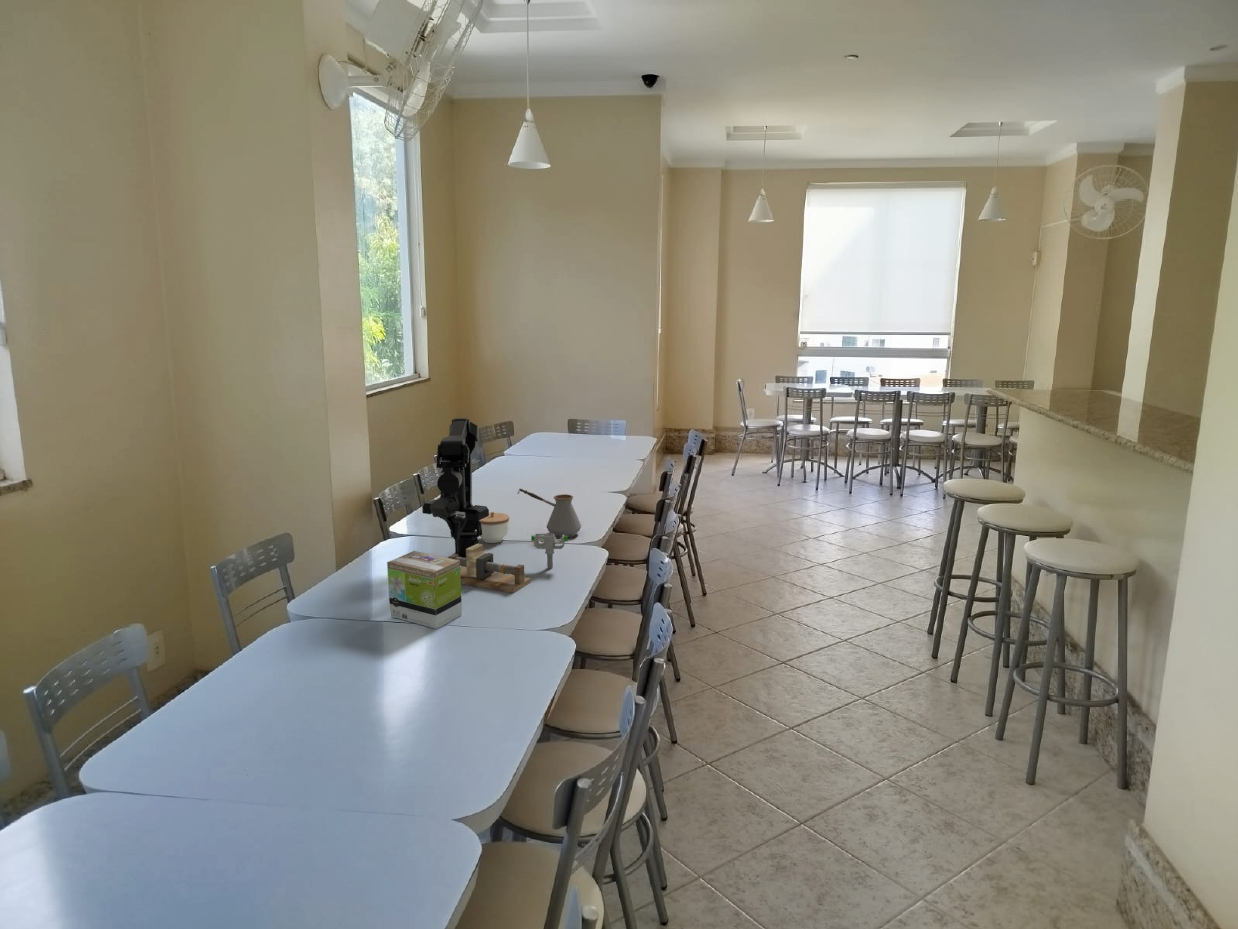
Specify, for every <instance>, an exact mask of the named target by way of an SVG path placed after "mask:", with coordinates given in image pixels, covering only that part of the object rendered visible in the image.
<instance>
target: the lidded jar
mask: <svg viewBox="0 0 1238 929" xmlns="http://www.w3.org/2000/svg"><path fill="white" fill-rule="evenodd" d="M480 522H481V526H482V535H481V536H479V538H481V539H482V541H483V542H485V543H489V544H495V543H501V542H503V540H504V539H505V537H507V535H508V533H509V529H510V528H509V527H510V515H508V514H506V513H504V512H503V513H502V512H495V511H490V512H489V516H488V517H485V518H483V519H481V520H480Z"/></svg>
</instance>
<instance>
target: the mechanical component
mask: <svg viewBox="0 0 1238 929" xmlns="http://www.w3.org/2000/svg"><path fill="white" fill-rule="evenodd" d="M540 540H543V541H540ZM531 542H534V547H535V548H536V549H537V550H538V549H539V550H545V552H544V553H545V554H546V556H547V557H546V558H547V559H546V560H547V562H546V563H547V564H546V565H547V566H546V567H547V569H548V570H551V569H553V566H554V563H553V555H554V554H555V550H562V549H563V548H564V547H565V543H566V542H568V537H567V536H565V535H562V538H558V539H557V537H555V536H554V534H551V533H534V535H533V534H532V535H531Z"/></svg>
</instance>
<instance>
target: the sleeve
mask: <svg viewBox="0 0 1238 929" xmlns="http://www.w3.org/2000/svg"><path fill="white" fill-rule="evenodd" d="M487 553H488V552H484V544H483V543H482V544H481V543H479V544H476V545H474V546H472V547H469V548H467V549H466V563H467V576H470V577H477V558H479V557H481V556H483V555H485V554H487Z"/></svg>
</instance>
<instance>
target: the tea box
mask: <svg viewBox="0 0 1238 929" xmlns="http://www.w3.org/2000/svg"><path fill="white" fill-rule="evenodd" d="M386 563H387V564H386V566H387V580H388V581H387V582H388V583H387V584H388V597H389V598H388V600H389V616H390V617H391V618H395V619H400V620H404V621H406V622H410V623H415V624H418V625H420V626H421V625H422V626H424V627H427V628H432V629H434V630H437V629H440V628H441V627H443V626H445V625H446V624H448V623H450V622H452V621H454V620H456V619H457V618H459V617H461V616H462V615H463V610H462V608H463V607H462V584H461V574H460V567H461V566H460V560H455V559H450V558H449V557H444V556H440V555H435V554H432V553H427V552H422V551H421V552H420V551H418V550H417V551H416V550H412V551H410V552H407V553H406V554H404V555H401V556H399V557H396V558H395V559H392V560H389V561H387V562H386Z"/></svg>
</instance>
